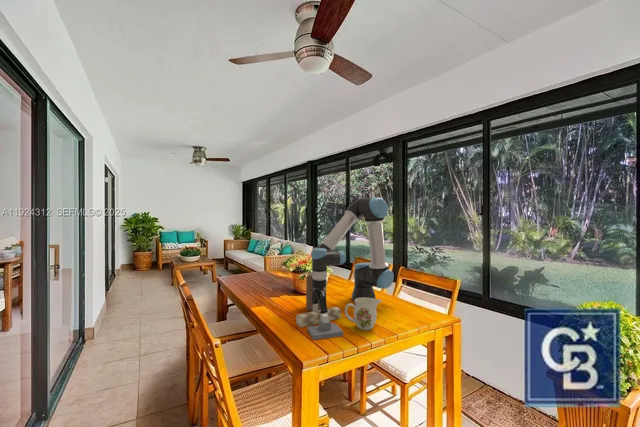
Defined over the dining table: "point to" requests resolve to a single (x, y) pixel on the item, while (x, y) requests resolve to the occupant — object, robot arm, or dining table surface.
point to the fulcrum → (324, 329)
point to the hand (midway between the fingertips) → (319, 320)
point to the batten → (316, 316)
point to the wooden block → (310, 293)
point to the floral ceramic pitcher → (364, 312)
